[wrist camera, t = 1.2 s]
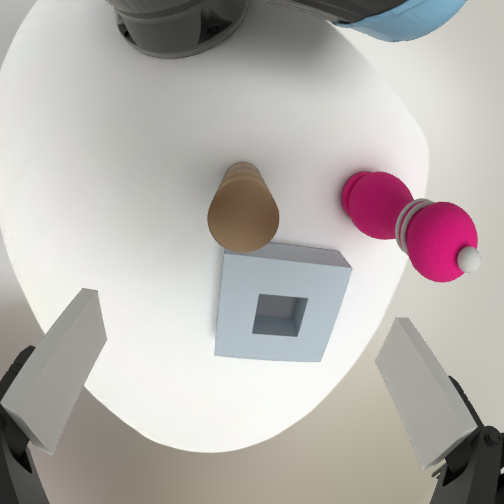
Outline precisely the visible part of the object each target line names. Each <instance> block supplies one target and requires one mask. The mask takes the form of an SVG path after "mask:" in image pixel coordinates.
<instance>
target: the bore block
mask: <svg viewBox="0 0 504 504" xmlns="http://www.w3.org/2000/svg"><path fill="white" fill-rule="evenodd" d="M351 271H352V267H351V266H350V265H349V263H348V262H347V261H346V259H345V258H344V257H343V256H342V254H341V253H340V252H339V251H334V250H326V249H318V248H310V247H302V246H294V245H286V244H278V243H270V242H269V243H268V244H266V245H265V246H264V247H262V248H260V249H258V250H256V251H252V252H246V253H240V252H234V251H231V250H228V249H226V248H225V252H224V260H223V269H222V279H221V289H220V298H219V309H218V319H217V330H216V341H215V353H214V356H223V357H233V358H244V359H257V360H272V361H294V362H321V360H322V357H323V354H324V352H325V349H326V346H327V344H328V341H329V338H330V335H331V333H332V330H333V327H334V324H335V321H336V318H337V315H338V312H339V309H340V306H341V303H342V300H343V297H344V294H345V291H346V288H347V284H348V281H349V278H350V274H351Z"/></svg>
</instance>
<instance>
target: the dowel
mask: <svg viewBox="0 0 504 504" xmlns="http://www.w3.org/2000/svg"><path fill="white" fill-rule="evenodd" d="M207 220H208V226H209V230H210V232H211V234H212V236H213V237H214V239H215V240H216V241H217V242H218V243H219V244H220V245H221V246H223V247H224V248H226V249H228V250H231V251H234V252H240V253H246V252H252V251H256V250H258V249H260V248H262V247H264V246H265V245H266V244H268V243H269V242H270V241H271V239H272V238H273V237H274V235H275V233H276V231H277V229H278V225H279V211H278V208H277V205H276V203H275V201H274V199H273V197H272V195H271V193H270V191H269V189H268V188H267V186H266V184H265V182H264V180H263V178H262V176H261V174H260V173H259V171H258V169H257V168H256V167H255V166H253V165H252V164H250V163H246V162H240V163H236V164H234V165H232V166H231V167H230V168H229V169H228V170H227V172H226V174H225V176H224V178H223V180H222V182H221V184H220V186H219V188H218V190H217V192H216V194H215V196H214V198H213V200H212V202H211V205H210V207H209V210H208V219H207Z"/></svg>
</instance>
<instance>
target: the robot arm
mask: <svg viewBox="0 0 504 504" xmlns="http://www.w3.org/2000/svg"><path fill="white" fill-rule="evenodd" d="M106 1H107V2H108V3H109V4H110V5H111V6H113V7H114V11H115V16H116V21H117V25H118V28H119V31H120V32H121V34H122V36H123V37H124V38H125V39H126V41H127V42H129V43H130V44H131V45H132V46H134V47H135V48H136V49H137V50H139V51H141V52H143V53H145V54H147V55H150V56H154V57H158V58H183V57H188V56H192V55H196V54H199V53H202V52H205V51H207V50H209V49H211V48H213V47H215V46H217V45H218V44H220V43H221V42H223V41H224V40H226V39H227V38H228V37H229V36H230V35H231V34H233V33H234V31H235V30H236V29H237V28H238V27H239V25H240V24H241V22H242V21H243V19H244V17H245V14H246V11H247V6H248V0H106ZM261 1H265V2H269V3H274V4H277V5H281V6H285V7H288V8H292V9H295V10H299V11H302V12H305V13H308V14H311V15H314V16H317V17H320V18H323V19H326V20H328V21H330V22H331V23H332V24H334V25H336V26H339V27H344V28H352V29H354V30H357V31H359V32H362V33H364V34H367V35H369V36H372V37H374V38H376V39H379V40H383V41H387V42H399V41H409V40H414V39H417V38H419V37H422V36H424V35H427V34H429V33H430V32H432V31H434V30H436V29H437V28H439V27H440V26H442V25H443V24H445V23H446V22H447V21H448V20H449V19H451V18H452V17H453V16H454V15H455V14H456V13H457V12H458V11H459V10H460V9H461V8H462V6H463V5H464V4H465V2H466V1H467V0H261ZM106 341H107V337H106V333H105V328H104V323H103V318H102V313H101V308H100V303H99V297H98V291H97V290H91V289H86V288H82V289H81V291H80V292H79V293H78V294H77V295H76V297H75V298H74V299H73V300H72V301H71V303H70V304H69V305H68V306H67V308H66V309H65V310H64V311H63V313H62V314H61V315H60V316H59V318H58V319H57V320H56V322H55V323H54V324H53V325H52V327H51V328H50V329H49V331H48V332H47V333H46V335H45V336H44V337H43V339H42V340H41V341H40V343H39V344H38V346H37V347H33V346H31V345H30V346H29V347H27V348H26V349H24V350H23V351H22V352H20V354H19V355H18V356H17V358H16V359H15V361H14V364H12V365H11V366H10V368H9V371H7V372H6V374H5V375H4V376H3V378H2V380H1V381H0V504H50V503H49V501H48V499H47V497H46V494H45V492H44V489H43V487H42V484H41V482H40V479H39V477H38V474H37V471H36V468H35V465H34V462H33V459H32V456H31V452H30V450H29V448H28V446H27V444H28V442H29V440H30V441H31V442H32V443H33V444H34V446H35V447H36V448H38V449H40V450H42V451H44V452H46V453H49V454H51V455H53V454H54V451H55V449H56V447H57V444H58V442H59V439H60V437H61V434H62V432H63V430H64V427H65V425H66V423H67V420H68V418H69V416H70V413H71V411H72V409H73V407H74V405H75V402H76V400H77V398H78V396H79V394H80V392H81V390H82V387H83V386H84V383H85V381H86V379H87V377H88V375H89V373H90V371H91V369H92V367H93V365H94V363H95V361H96V360H97V358H98V356H99V354H100V352H101V350H102V348H103V346H104V344H105V342H106ZM375 362H376V364H377V366H378V369H379V371H380V373H381V375H382V377H383V379H384V382H385V384H386V386H387V388H388V390H389V392H390V395H391V397H392V399H393V401H394V404H395V406H396V408H397V410H398V413H399V415H400V418H401V420H402V422H403V425H404V427H405V430H406V432H407V434H408V437H409V439H410V442H411V444H412V447H413V449H414V452H415V455H416V457H417V460H418V462H419V465H420V467H421V470H425V469H428V468H430V467H433V466H436V465H437V464H438V463H439V462H440V461H441V460H443V459H444V458H445V460H446V463H445V464H444V465H442V466H441V467H440V468H439V469H437V470H436V471H435V472H434V473H433V474H432V477H434V476H435V475H437V474H438V473H439V472H440V475H438V476H437V477H436V478H437V479H438V482H437V485H436V488H435V491H434V494H433V496H432V499H431V502H430V504H504V473H503V474H501V471H500V470H501V469H502V468H503V467H504V433H500V432H499V431H498V430H497V429H496V428H494V427H493V426H486V427H485V426H484V425H483V424H482V422H481V420H480V418H479V417H478V415H477V413H476V411H475V410H474V408H473V406H472V404H471V403H470V401H468V398H467V396H466V395H465V394H464V391H463V390H462V388H461V386H460V385H459V383H458V382H457V381H456V380H455V379H453V378H452V377H451V376H447V374H446V373H445V371H444V369H443V368H442V366H441V364H440V363H439V362H438V360H437V358H436V357H435V356H434V354H433V352H432V351H431V349H430V348H429V347H428V345H427V344H426V342H425V341H424V339H423V338H422V336H421V335H420V334H419V332H418V331H417V329H416V328H415V327H414V325H413V324H412V322H411V321H410V320H409V318H395V320H394V323H393V325H392V327H391V329H390V331H389V333H388V336H387V338H386V340H385V342H384V344H383V346H382V348H381V350H380V352H379V354H378V356H377V358H376V360H375Z"/></svg>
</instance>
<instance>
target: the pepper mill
mask: <svg viewBox="0 0 504 504" xmlns="http://www.w3.org/2000/svg"><path fill="white" fill-rule="evenodd" d="M342 204H343V208H344V210H345V212H346V213H347V214H348V216H349V217H351V219H352V221H353V223H354V224H355V226H356V227H357V228H358V229H359V230H360V231H361V232H363V233H364V234H366V235H368V236H370V237H372V238H376V239H384V240H386V239H396V241H397V244H398V246H399V247H400V249H401V250H402V251H403V252H405V253H406V254H407V255H408V256H409V258H410V260H411V262H412V265H413V267H414V268H415V269H416V270H417V271H418V272H419V273H420V274H421V275H422V276H424V277H425V278H427V279H429V280H432V281H435V282H450V281H452V280H455V279H457V278H458V277H460V276H461V275H462V274H464V273H472V272H475V271H476V270H477V269H478V267H479V265H480V261H481V260H480V259H481V257H480V254H479V252H478V251H477V242H478V239H477V232H476V228H475V225H474V223H473V221H472V219H471V218H470V216H469V215H468V214H467V213H466V212H465V211H464V210H463V209H462V208H460V207H458V206H457V205H455V204H453V203H449V202H437V203H435V202H432V201H430V200H428V199H416V200H414V199H413V197H412V195H411V193H410V191H409V189H408V188H407V187H406V185H405V184H404V183H403V182H402V181H401V180H400V179H398V178H397V177H395V176H393V175H391V174H389V173H386V172H373V173H371V172H360V173H357V174H355V175H353V176H352V177H351V178H350V179H349V180H348V181H347V183H346V184H345V186H344V188H343V192H342Z"/></svg>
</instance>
